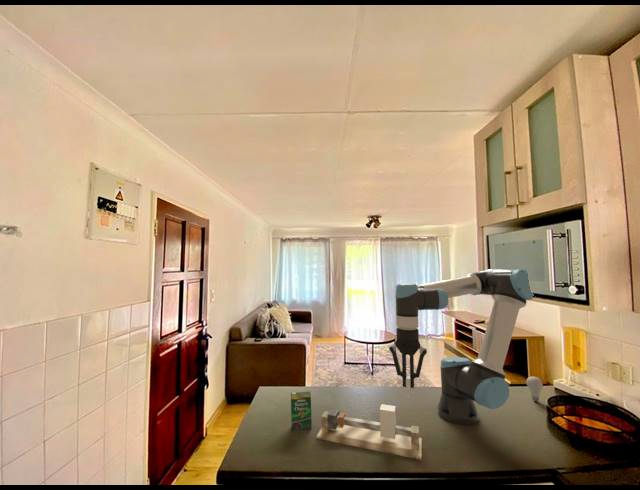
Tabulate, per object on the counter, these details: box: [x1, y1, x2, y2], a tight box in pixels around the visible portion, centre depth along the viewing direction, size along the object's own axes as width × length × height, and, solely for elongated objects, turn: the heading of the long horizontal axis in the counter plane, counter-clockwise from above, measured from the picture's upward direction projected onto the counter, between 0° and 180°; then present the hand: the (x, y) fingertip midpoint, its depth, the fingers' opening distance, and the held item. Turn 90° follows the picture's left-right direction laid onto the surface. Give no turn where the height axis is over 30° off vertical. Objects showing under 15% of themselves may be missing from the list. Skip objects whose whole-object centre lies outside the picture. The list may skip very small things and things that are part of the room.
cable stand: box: [316, 408, 423, 461], centre depth 105 cm, size 36×11×7 cm, turn 70°
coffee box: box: [290, 391, 313, 431], centre depth 113 cm, size 8×3×13 cm, turn 93°
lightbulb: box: [525, 376, 544, 402], centre depth 133 cm, size 6×6×11 cm
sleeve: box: [379, 403, 397, 439], centre depth 103 cm, size 5×4×9 cm
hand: (408, 396), depth 101 cm, fingers closed
